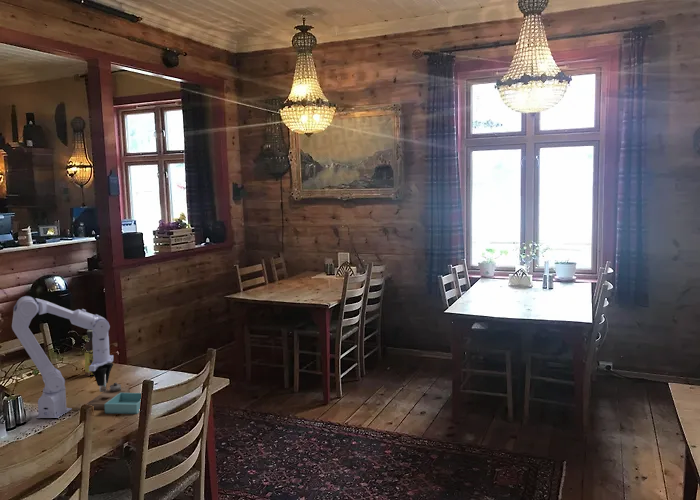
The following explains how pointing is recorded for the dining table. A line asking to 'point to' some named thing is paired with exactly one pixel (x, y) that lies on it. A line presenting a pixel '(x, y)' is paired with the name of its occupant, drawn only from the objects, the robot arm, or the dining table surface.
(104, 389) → the lock pin
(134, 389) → the dining table surface
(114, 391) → the tensioner bracket
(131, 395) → the tray
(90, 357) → the sauce bottle
